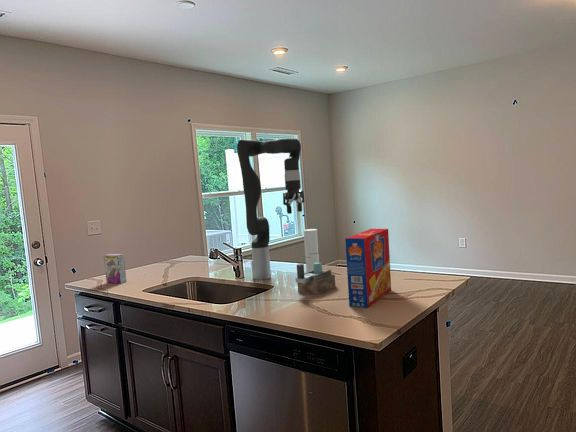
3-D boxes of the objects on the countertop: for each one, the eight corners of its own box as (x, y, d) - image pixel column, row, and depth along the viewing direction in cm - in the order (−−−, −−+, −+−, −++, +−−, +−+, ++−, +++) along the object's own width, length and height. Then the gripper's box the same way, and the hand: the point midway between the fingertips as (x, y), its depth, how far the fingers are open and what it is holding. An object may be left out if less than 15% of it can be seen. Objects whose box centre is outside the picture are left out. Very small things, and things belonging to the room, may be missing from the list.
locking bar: (294, 282, 200) (293, 265, 200) (308, 277, 209) (307, 260, 208) (303, 283, 197) (302, 265, 197) (316, 278, 206) (315, 261, 205)
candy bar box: (106, 283, 256) (103, 255, 254) (112, 281, 260) (109, 253, 259) (120, 284, 251) (117, 255, 250) (127, 282, 256) (124, 253, 254)
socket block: (298, 291, 208) (296, 274, 207) (314, 284, 219) (313, 268, 218) (319, 294, 201) (318, 276, 200) (335, 286, 212) (334, 269, 211)
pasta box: (367, 308, 175) (364, 238, 173) (349, 306, 180) (345, 238, 177) (391, 290, 199) (388, 228, 197) (374, 289, 203) (371, 228, 201)
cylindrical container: (319, 277, 234) (316, 230, 231) (305, 277, 235) (302, 231, 233) (320, 274, 240) (317, 228, 238) (307, 274, 242) (304, 229, 240)
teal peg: (313, 288, 211) (311, 264, 210) (317, 286, 214) (316, 262, 213) (320, 289, 209) (318, 264, 208) (324, 287, 212) (323, 262, 211)
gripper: (295, 179, 224) (297, 211, 226) (277, 180, 213) (279, 214, 215) (307, 178, 220) (309, 211, 221) (289, 179, 209) (292, 214, 210)
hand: (294, 212), depth 218 cm, fingers open, 8 cm apart
